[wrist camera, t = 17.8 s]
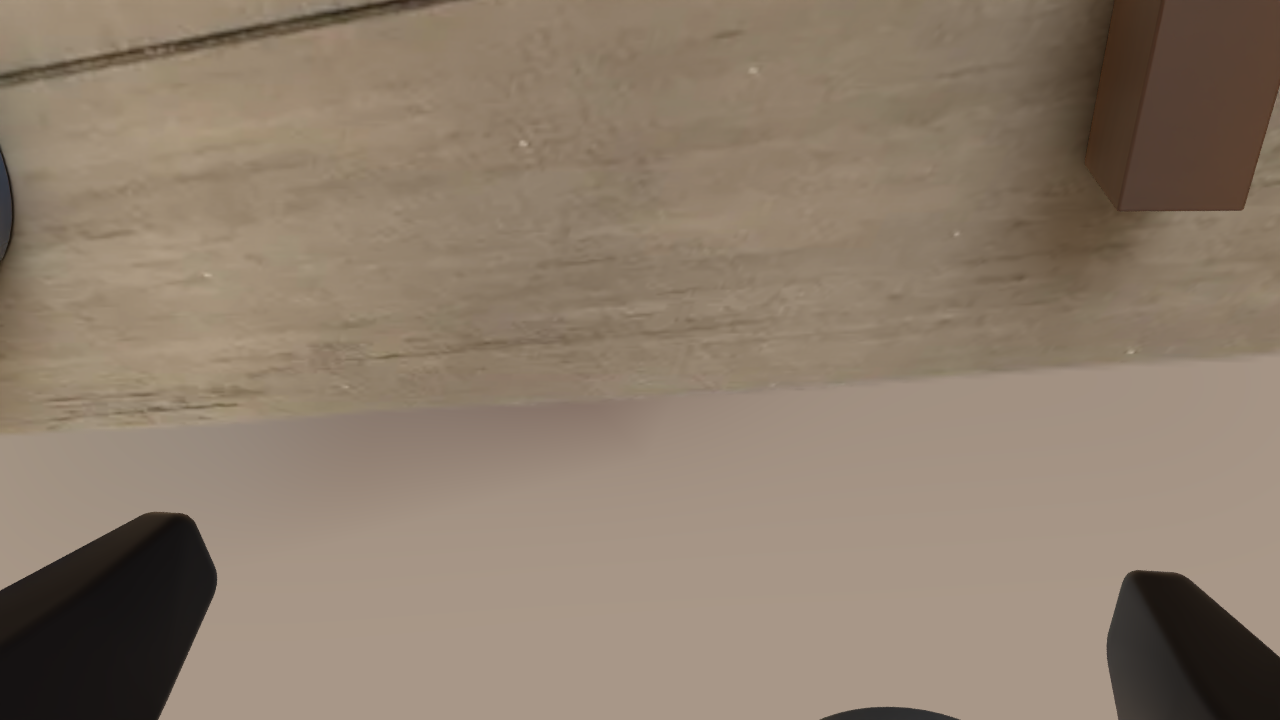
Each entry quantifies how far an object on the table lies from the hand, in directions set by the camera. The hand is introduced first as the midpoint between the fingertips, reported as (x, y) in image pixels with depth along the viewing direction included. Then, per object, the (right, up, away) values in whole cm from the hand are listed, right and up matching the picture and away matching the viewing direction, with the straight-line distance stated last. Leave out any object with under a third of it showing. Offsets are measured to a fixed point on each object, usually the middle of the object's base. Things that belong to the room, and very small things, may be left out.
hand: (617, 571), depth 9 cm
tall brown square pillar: (+10, +8, +7) cm, 15 cm away
